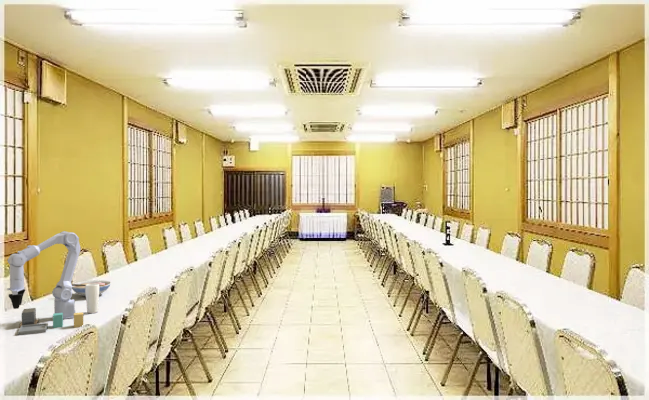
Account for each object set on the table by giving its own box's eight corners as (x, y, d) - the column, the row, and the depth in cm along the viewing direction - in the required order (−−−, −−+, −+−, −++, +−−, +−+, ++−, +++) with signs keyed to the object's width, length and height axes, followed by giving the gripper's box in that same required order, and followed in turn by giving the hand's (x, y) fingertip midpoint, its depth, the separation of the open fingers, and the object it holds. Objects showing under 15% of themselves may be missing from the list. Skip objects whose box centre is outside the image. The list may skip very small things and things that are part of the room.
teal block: (62, 324, 241) (62, 312, 241) (62, 327, 237) (62, 314, 237) (53, 325, 239) (53, 313, 239) (52, 328, 235) (52, 315, 235)
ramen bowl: (120, 292, 314) (119, 279, 314) (100, 300, 291) (100, 286, 291) (82, 291, 316) (82, 278, 316) (60, 299, 294) (60, 285, 293)
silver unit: (38, 321, 247) (38, 307, 247) (36, 326, 238) (36, 311, 237) (22, 322, 244) (21, 308, 244) (19, 328, 235) (19, 313, 235)
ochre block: (83, 324, 242) (83, 312, 242) (83, 326, 238) (83, 314, 238) (74, 325, 240) (74, 313, 240) (73, 327, 236) (73, 315, 236)
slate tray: (47, 326, 238) (47, 322, 238) (45, 332, 228) (45, 329, 228) (21, 328, 234) (21, 325, 234) (17, 335, 224) (17, 331, 224)
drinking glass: (101, 310, 268) (101, 283, 267) (96, 314, 261) (96, 285, 261) (88, 310, 268) (88, 283, 267) (83, 314, 261) (83, 285, 260)
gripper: (9, 276, 242) (10, 304, 243) (4, 282, 229) (4, 311, 230) (26, 275, 245) (26, 302, 246) (22, 280, 232) (22, 309, 233)
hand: (17, 306), depth 238 cm, fingers open, 7 cm apart
